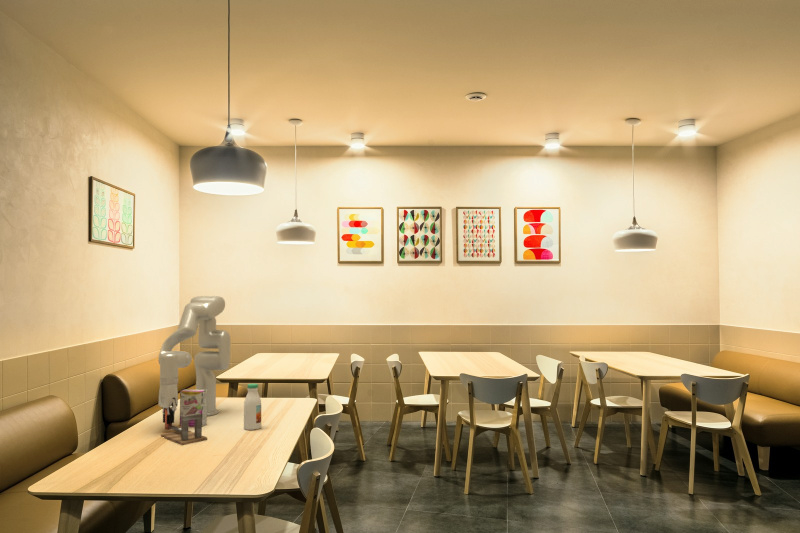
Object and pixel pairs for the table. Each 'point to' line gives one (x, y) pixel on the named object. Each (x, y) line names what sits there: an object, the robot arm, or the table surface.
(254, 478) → the table surface
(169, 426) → the lever
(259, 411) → the milk bottle
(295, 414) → the table surface
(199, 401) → the candy bar box
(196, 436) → the eye stand
